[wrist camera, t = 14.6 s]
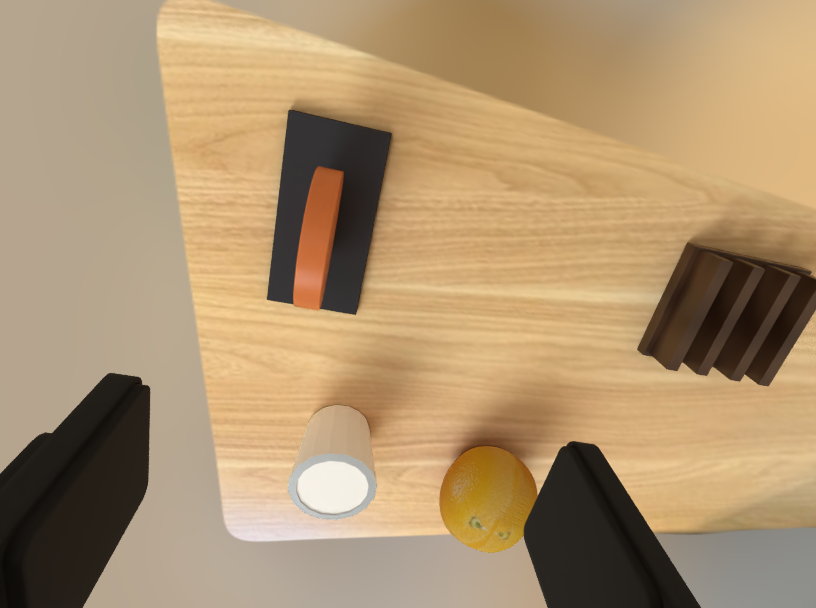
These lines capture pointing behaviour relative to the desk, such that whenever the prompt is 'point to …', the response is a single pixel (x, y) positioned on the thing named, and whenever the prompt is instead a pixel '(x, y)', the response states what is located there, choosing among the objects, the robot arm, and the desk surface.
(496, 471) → the fruit
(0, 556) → the robot arm
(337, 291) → the mat
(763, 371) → the rack
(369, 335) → the desk surface
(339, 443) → the shot glass
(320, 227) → the disc
